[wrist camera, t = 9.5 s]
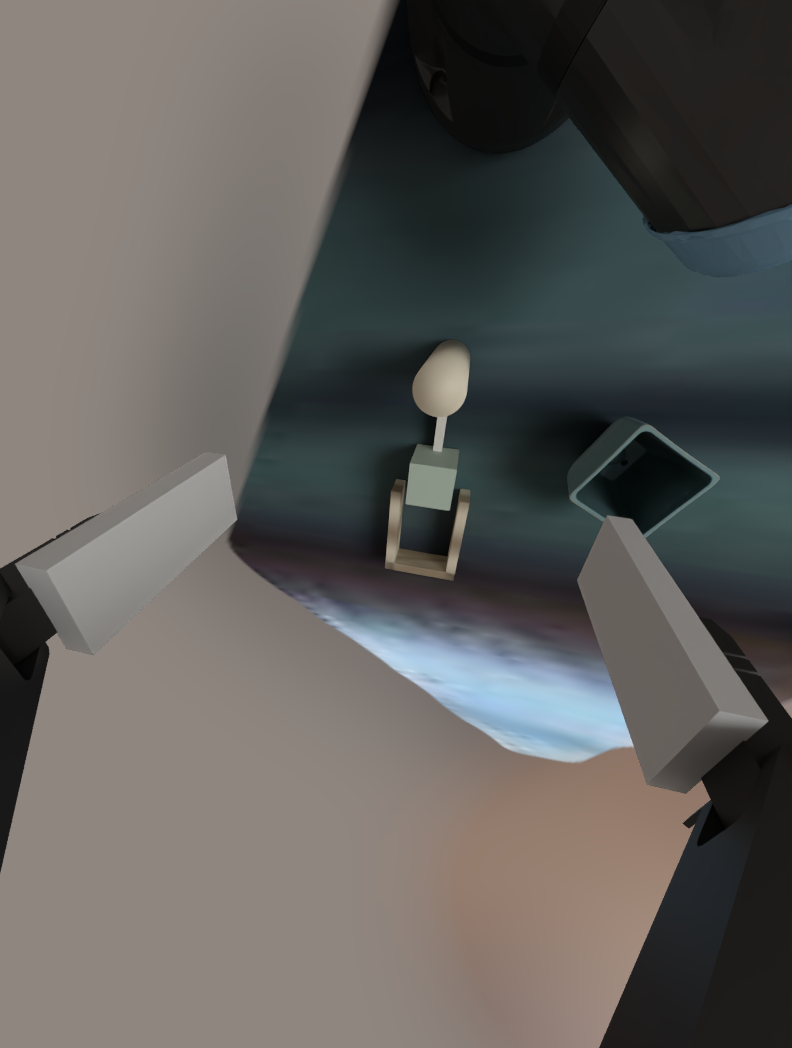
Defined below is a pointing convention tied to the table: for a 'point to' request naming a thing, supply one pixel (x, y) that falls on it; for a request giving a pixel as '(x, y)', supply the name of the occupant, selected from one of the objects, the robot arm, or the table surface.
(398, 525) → the beige u-shaped frame
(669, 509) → the flower pot
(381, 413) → the table surface
